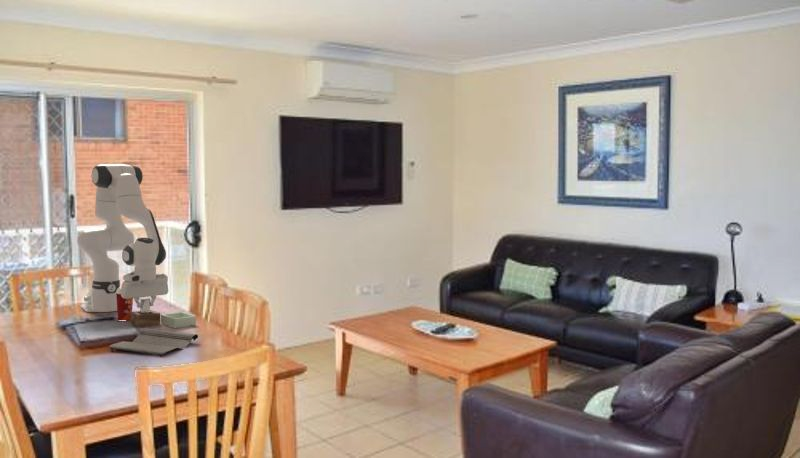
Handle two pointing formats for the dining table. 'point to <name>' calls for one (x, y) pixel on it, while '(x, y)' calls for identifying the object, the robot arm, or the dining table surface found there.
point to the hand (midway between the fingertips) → (145, 306)
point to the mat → (156, 342)
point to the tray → (178, 319)
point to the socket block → (145, 318)
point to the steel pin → (145, 306)
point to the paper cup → (123, 306)
